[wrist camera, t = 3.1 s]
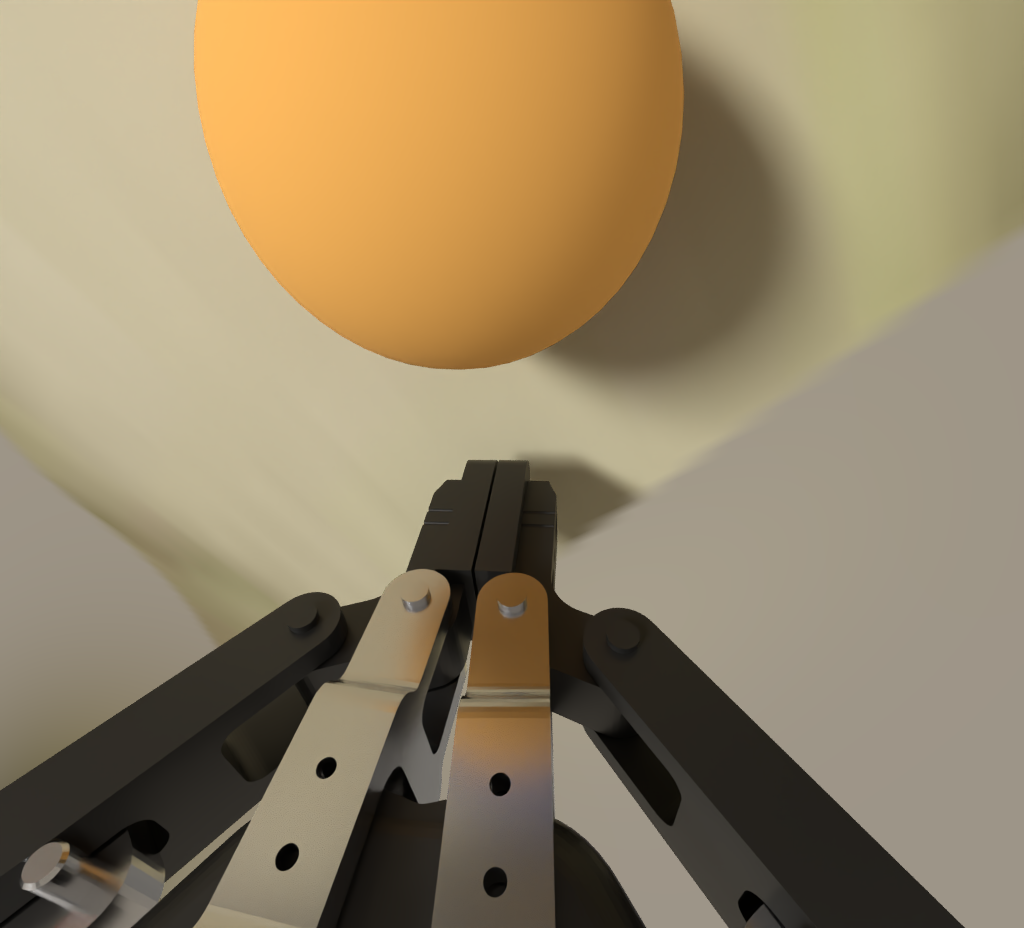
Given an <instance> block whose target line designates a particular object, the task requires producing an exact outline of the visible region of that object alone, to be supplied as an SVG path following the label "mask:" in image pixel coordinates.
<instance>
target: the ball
mask: <svg viewBox="0 0 1024 928" xmlns="http://www.w3.org/2000/svg"><path fill="white" fill-rule="evenodd" d="M194 72H195V81H196V91H197V101H198V108H199V113H200V118H201V123H202V128H203V132H204V137H205V142H206V145H207V148H208V152H209V155H210V158H211V161H212V164H213V168H214V171H215V174H216V177H217V180H218V182H219V184H220V187H221V189H222V192H223V194H224V196H225V199H226V201H227V203H228V206H229V208H230V210H231V212H232V214H233V216H234V217H235V219H236V221H237V223H238V225H239V227H240V229H241V231H242V232H243V234H244V236H245V238H246V239H247V241H248V242H249V244H250V245H251V247H252V248H253V250H254V251H255V253H256V254H257V256H258V257H259V259H260V260H261V261H262V263H263V264H264V265H265V266H266V268H267V269H268V270H269V271H270V273H271V274H272V275H273V276H274V278H275V279H276V280H277V281H278V283H279V284H280V285H281V286H282V287H283V288H284V289H285V290H286V291H287V292H288V293H289V294H290V295H291V296H292V297H293V298H294V299H295V300H296V301H297V302H298V303H299V304H300V305H301V306H303V307H304V308H305V309H306V310H307V311H309V312H310V313H311V314H312V315H313V316H315V317H316V318H317V319H318V320H319V321H320V322H322V323H323V324H325V325H326V326H328V327H329V328H331V329H332V330H334V331H335V332H336V333H338V334H339V335H341V336H342V337H344V338H346V339H348V340H350V341H352V342H353V343H355V344H357V345H359V346H361V347H363V348H364V349H367V350H369V351H372V352H374V353H377V354H379V355H381V356H384V357H386V358H389V359H393V360H396V361H400V362H403V363H407V364H410V365H416V366H422V367H428V368H436V369H475V368H487V367H492V366H496V365H501V364H506V363H510V362H513V361H516V360H519V359H522V358H525V357H528V356H531V355H533V354H535V353H537V352H539V351H541V350H544V349H546V348H548V347H550V346H552V345H554V344H555V343H557V342H559V341H560V340H562V339H563V338H565V337H566V336H568V335H569V334H571V333H572V332H574V331H575V330H577V329H578V328H580V327H581V326H582V325H584V324H585V323H586V322H587V321H588V320H590V319H591V318H592V317H593V316H594V315H595V314H597V313H598V312H599V311H600V310H601V309H602V308H603V307H604V306H605V305H606V304H607V303H608V301H609V300H610V299H611V298H612V297H613V296H614V295H615V294H616V293H617V292H618V291H619V289H620V288H621V287H622V285H623V284H624V283H625V281H626V280H627V278H628V277H629V276H630V274H631V273H632V271H633V270H634V269H635V267H636V266H637V264H638V262H639V261H640V259H641V257H642V255H643V253H644V252H645V250H646V248H647V246H648V244H649V242H650V241H651V239H652V237H653V235H654V232H655V230H656V227H657V225H658V222H659V220H660V217H661V215H662V213H663V210H664V208H665V205H666V203H667V199H668V196H669V192H670V189H671V185H672V182H673V178H674V175H675V171H676V166H677V160H678V154H679V148H680V142H681V136H682V123H683V104H684V86H683V70H682V54H681V48H680V42H679V37H678V31H677V26H676V20H675V14H674V10H673V7H672V3H671V0H198V5H197V13H196V22H195V30H194Z"/></svg>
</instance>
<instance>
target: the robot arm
mask: <svg viewBox="0 0 1024 928" xmlns="http://www.w3.org/2000/svg"><path fill="white" fill-rule="evenodd" d="M556 553H557V505H556V494H555V492H554V490H553V489H552V487H551V485H550V483H549V481H530V468H529V461H520V460H499V462H498V461H497V460H468V461H467V464H466V467H465V470H464V473H463V477H462V480H446V481H445V482H444V484H443V485H442V486H441V487H440V488H439V489H438V490H437V491H436V492H435V493H434V495H433V498H432V500H431V503H430V506H429V512H427V515H426V517H425V520H424V525H423V526H422V529H421V531H420V534H419V537H418V540H417V543H416V545H415V548H414V551H413V554H412V557H411V560H410V562H409V565H408V568H407V571H406V573H403V574H401V575H399V576H398V577H396V578H395V579H394V580H392V581H391V582H390V583H389V584H388V586H387V587H386V588H385V590H384V592H383V594H382V596H380V597H377V598H375V599H372V600H368V601H364V602H360V603H355V604H351V605H347V606H342V607H340V605H339V603H338V601H337V600H336V599H335V598H334V597H333V596H331V595H329V594H326V593H321V592H312V593H307V594H303V595H300V596H298V597H295V598H293V599H292V600H290V601H288V602H287V603H285V604H284V605H282V606H281V607H279V608H277V609H276V610H274V611H273V612H271V613H270V614H268V615H267V616H265V617H264V618H262V619H261V620H259V621H258V622H256V623H255V624H253V625H252V626H250V627H249V628H247V629H245V630H244V631H242V632H241V633H239V634H238V635H236V636H235V637H233V638H232V639H230V640H229V641H227V642H226V643H224V644H223V645H221V646H220V647H218V648H217V649H215V650H214V651H212V652H210V653H209V654H208V655H206V656H204V657H203V658H201V659H200V660H199V661H197V662H195V663H194V664H192V665H191V666H189V667H188V668H186V669H185V670H183V671H182V672H180V673H179V674H177V675H175V676H174V677H173V678H171V679H169V680H168V681H166V682H165V683H163V684H162V685H160V686H159V687H157V688H156V689H154V690H153V691H151V692H150V693H148V694H147V695H145V696H144V697H142V698H140V699H139V700H137V701H136V702H135V703H133V704H131V705H130V706H128V707H127V708H125V709H124V710H122V711H121V712H119V713H118V714H116V715H115V716H113V717H112V718H110V719H108V720H107V721H106V722H104V723H103V724H101V725H99V726H98V727H96V728H95V729H93V730H92V731H90V732H89V733H87V734H86V735H84V736H83V737H81V738H80V739H78V740H77V741H75V742H74V743H72V744H71V745H69V746H67V747H66V748H65V749H63V750H61V751H60V752H58V753H57V754H55V755H54V756H52V757H51V758H49V759H48V760H46V761H45V762H43V763H42V764H40V765H38V766H37V767H35V768H34V769H33V770H31V771H29V772H28V773H26V774H25V775H23V776H22V777H20V778H19V779H17V780H16V781H14V782H13V783H11V784H10V785H8V786H6V787H5V788H3V789H2V790H0V928H646V927H645V925H644V923H643V921H642V920H641V918H640V917H639V915H638V913H637V911H636V910H635V908H634V906H633V905H632V903H631V901H630V900H629V898H628V896H627V894H626V893H625V891H624V889H623V888H622V886H621V884H620V883H619V881H618V879H617V878H616V876H615V874H614V873H613V871H612V870H611V868H610V867H609V866H608V864H607V863H606V862H605V860H604V859H603V858H602V857H601V855H600V854H599V853H598V852H597V851H596V850H595V848H594V847H593V846H592V845H591V844H590V843H589V842H588V841H587V840H586V839H585V838H583V837H582V836H581V835H580V834H578V833H577V832H576V831H575V830H573V829H572V828H570V827H569V826H567V825H565V824H564V823H562V822H561V821H559V820H557V819H555V806H554V805H555V803H554V774H553V773H554V772H553V737H552V712H554V713H556V714H559V715H561V716H563V717H565V718H568V719H570V720H572V721H575V722H577V723H579V724H581V725H583V727H584V729H585V731H586V733H587V735H588V736H589V737H590V739H591V740H592V742H593V743H594V744H595V746H596V747H597V749H598V750H599V751H600V753H601V754H602V755H603V757H604V758H605V759H606V761H607V762H608V764H609V765H610V766H611V767H612V769H613V770H614V772H615V773H616V774H617V776H618V777H619V779H620V780H621V781H622V783H623V784H624V785H625V787H626V788H627V789H628V791H629V792H630V794H631V795H632V796H633V797H634V799H635V800H636V802H637V803H638V804H639V806H640V807H641V809H642V810H643V811H644V812H645V814H646V815H647V817H648V818H649V819H650V821H651V822H652V824H653V825H654V826H655V828H656V829H657V830H658V832H659V833H660V834H661V836H662V837H663V839H664V840H665V841H666V843H667V844H668V845H669V847H670V848H671V849H672V851H673V852H674V854H675V855H676V856H677V858H678V859H679V860H680V862H681V863H682V864H683V866H684V867H685V869H686V870H687V871H688V873H689V874H690V875H691V877H692V878H693V879H694V881H695V882H696V884H697V885H698V886H699V888H700V889H701V890H702V892H703V893H704V894H705V896H706V897H707V899H708V900H709V901H710V903H711V904H712V905H713V907H714V908H715V910H716V911H717V912H718V914H719V915H720V916H721V918H722V919H723V920H724V922H725V923H726V924H727V926H728V927H729V928H965V927H964V926H963V925H961V924H960V923H959V922H958V921H957V920H956V919H955V918H954V917H953V916H952V915H951V914H950V913H949V912H948V911H947V910H946V909H945V908H944V907H943V906H942V905H941V904H940V903H939V902H938V901H937V900H936V899H935V898H934V897H933V896H932V895H931V894H930V893H929V892H928V891H927V890H926V889H925V888H924V887H923V886H922V885H920V884H919V882H918V881H916V880H915V879H914V878H913V877H912V876H911V875H910V874H909V873H908V872H907V871H906V870H905V869H904V868H903V867H902V866H901V865H900V864H899V863H898V862H897V861H896V860H895V859H894V858H893V857H892V856H891V855H890V854H889V853H888V852H887V851H886V850H885V849H884V848H883V847H882V846H881V845H880V844H879V843H878V842H877V841H876V840H875V839H873V838H872V837H871V836H870V835H869V834H868V833H867V832H866V831H865V830H864V829H863V828H862V827H861V826H860V825H859V824H858V823H857V822H856V821H855V820H854V819H853V818H852V817H851V816H850V815H849V814H848V813H847V812H846V811H845V810H844V809H843V808H842V807H841V806H840V805H839V804H838V803H837V802H836V801H835V800H834V799H833V798H832V797H830V795H828V793H826V792H825V791H824V790H823V789H822V788H821V787H820V786H819V785H818V784H817V783H816V782H815V781H814V780H813V779H812V778H811V777H810V776H809V775H808V774H807V773H806V772H805V771H804V770H803V769H802V768H801V767H800V766H799V765H798V764H797V763H796V762H795V761H794V760H792V758H791V757H789V755H788V754H787V753H786V752H784V750H782V749H781V748H780V747H779V746H778V745H777V744H776V743H775V742H774V741H773V740H772V739H771V738H770V737H769V736H768V735H767V734H766V733H765V732H764V731H763V730H762V729H761V728H760V727H759V726H758V725H757V724H756V723H755V722H754V721H753V720H752V719H751V718H750V717H749V716H748V715H747V714H746V713H745V712H744V711H743V710H742V709H741V708H740V707H739V706H738V705H736V704H735V703H734V702H733V701H732V700H731V699H730V698H729V697H728V696H727V695H726V694H725V693H724V692H723V691H722V690H721V689H720V688H719V687H718V686H717V685H716V684H715V683H714V682H713V681H712V680H711V679H710V678H709V677H708V676H707V675H706V674H705V673H704V672H703V671H702V670H701V669H700V668H699V667H698V666H697V665H696V664H694V663H693V662H692V660H690V659H689V658H688V657H687V656H686V655H685V654H684V653H683V652H682V651H681V650H680V649H679V648H678V647H677V646H676V645H675V644H674V643H673V642H672V641H671V640H670V639H669V638H668V637H667V636H666V635H665V634H664V633H663V632H662V631H661V630H660V629H659V628H658V627H657V626H656V625H655V624H654V623H652V621H650V620H649V619H648V618H647V617H645V616H644V615H642V614H641V613H638V612H636V611H633V610H630V609H625V608H611V609H607V610H603V611H601V612H599V613H597V614H596V615H595V616H593V615H590V614H587V613H584V612H582V611H579V610H576V609H574V608H572V607H570V606H569V605H567V604H566V603H564V602H563V601H562V600H561V599H560V598H559V597H558V595H557V594H556V593H555V591H554V589H555V570H556ZM470 640H472V649H471V659H470V667H469V676H468V685H467V691H466V695H465V696H462V698H461V700H460V696H461V693H462V689H463V685H464V682H465V678H466V674H467V664H466V660H467V655H468V650H469V645H470ZM459 700H460V703H459ZM458 704H459V708H458V713H457V722H456V729H455V738H454V746H453V755H452V762H451V770H450V779H449V788H448V795H447V800H442V801H439V799H440V793H441V782H442V765H443V759H444V755H445V751H446V747H447V744H448V740H449V736H450V733H451V729H452V725H453V721H454V718H455V714H456V711H457V707H458ZM259 801H261V802H260V804H259V806H258V808H257V810H256V812H255V814H254V816H253V818H252V820H250V821H249V822H248V823H246V824H245V825H244V826H243V827H241V828H240V829H239V830H238V831H236V832H235V833H234V834H233V835H232V836H231V837H230V838H229V839H227V840H226V841H225V842H224V843H223V844H222V845H221V846H220V847H219V848H218V849H216V850H215V851H214V852H213V853H212V854H211V855H210V856H209V857H208V858H207V859H205V860H204V861H203V862H202V863H201V864H200V865H199V866H198V867H197V868H196V869H194V871H192V872H191V873H190V874H189V875H188V876H187V877H186V878H185V879H183V880H182V881H181V882H180V883H179V884H178V885H177V886H176V887H175V888H174V889H172V890H171V891H170V892H169V893H168V894H167V895H166V896H165V897H164V898H163V899H162V900H161V898H160V896H161V894H162V890H163V887H164V883H165V882H166V881H167V880H168V879H169V878H170V877H171V876H173V875H174V874H175V873H176V872H177V871H179V870H180V869H181V868H182V867H183V866H184V865H186V864H187V863H188V862H189V861H190V860H192V859H193V858H194V857H195V856H196V855H197V854H199V853H200V852H201V851H202V850H203V849H204V848H206V847H207V846H208V845H209V844H210V843H211V842H213V841H214V840H215V839H216V838H217V837H218V836H220V835H221V834H222V833H223V832H224V831H225V830H226V829H228V828H229V827H230V826H231V825H232V824H233V823H235V822H236V821H237V820H238V819H239V818H241V817H242V816H243V815H244V814H245V813H246V812H247V811H249V810H250V809H251V808H252V807H254V806H255V805H256V804H257V803H258V802H259Z"/></svg>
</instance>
